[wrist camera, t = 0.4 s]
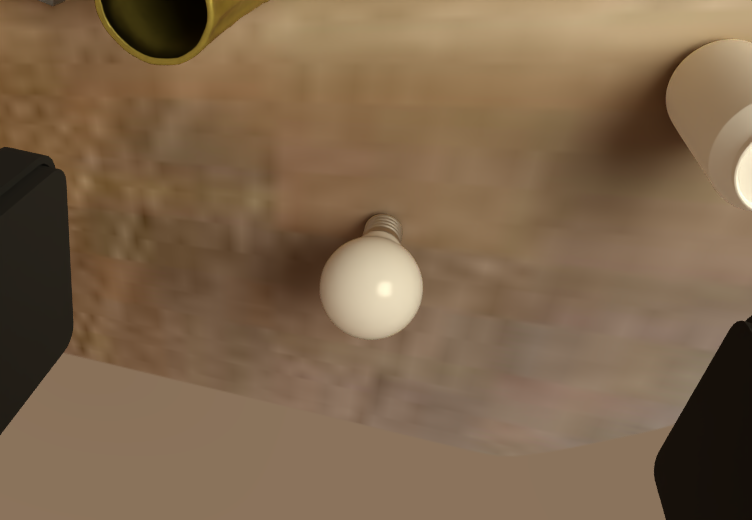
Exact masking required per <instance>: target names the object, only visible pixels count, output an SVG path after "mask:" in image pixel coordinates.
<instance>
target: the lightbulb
mask: <svg viewBox="0 0 752 520" xmlns="http://www.w3.org/2000/svg"><path fill="white" fill-rule="evenodd" d="M402 233H403V230H402V226H401V224H400V222H399V221H398V220H397V219H396V218H395V217H393V216H391V215H388V214H377V215H374V216H372V217H371V218H370V219H369V220H368V221H367V222H366V224H365V227H364V232H363V235H362V237H359V238H356V239H353V240H350V241H348V242H346V243H345V244H343V245H342V246H340V247H339V248H338V249H337V250H335V251H334V252H333V254H332V255H331V256H330V257H329V259H328V260H327V262H326V264H325V266H324V268H323V270H322V273H321V278H320V285H319V291H320V299H321V303H322V306H323V308H324V311H325V313H326V314H327V316H328V318H329V319H330V320H331V321H332V323H333V324H334V325H335V326H336V327H337V328H339V329H340V330H341V331H343V332H344V333H346V334H348V335H350V336H352V337H355V338H359V339H364V340H378V339H384V338H387V337H390V336H392V335H394V334H396V333H398V332H400V331H401V330H402V329H404V328H405V327H406V326H407V325H408V324H409V323H410V322H411V321H412V320H413V318H414V317H415V315H416V313H417V311H418V309H419V307H420V304H421V301H422V296H423V280H422V275H421V272H420V269H419V267H418V265H417V263H416V261H415V259H414V258H413V257H412V255H411V254H410V253H409V252H408V251H407V250H406V249H405V248H404V247H402V246H401V239H402Z"/></svg>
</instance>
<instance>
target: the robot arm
mask: <svg viewBox="0 0 752 520" xmlns="http://www.w3.org/2000/svg"><path fill="white" fill-rule="evenodd" d="M72 331H73V307H72V287H71V267H70V246H69V226H68V206H67V186H66V177H65V174H64V172H63V171H62V170H60V169H55V165H54V163H53V161H52V159H51V158H50V157H49V156H45V155H41V154H36V153H32V152H27V151H23V150H18V149H14V148H8V147H3V148H1V149H0V435H1V433H2V432H3V431H4V429H5V428H6V427H7V425H8V424H9V423H10V422H11V420H12V419H13V417H14V416H15V415H16V414H17V412H18V411H19V410H20V408H21V407H22V406H23V405H24V403H25V402H26V401H27V399H28V398H29V397H30V395H31V394H32V393H33V391H34V390H35V389H36V388H37V386H38V385H39V384H40V382H41V381H42V380H43V378H44V377H45V376H46V374H47V373H48V372H49V371H50V369H51V368H52V367H53V365H54V364H55V363H56V361H57V360H58V359H59V357H60V356H61V355H62V354H63V352H64V351H65V349H66V348H67V346H68V344H69V342H70V339H71V336H72ZM654 477H655V482H656V486H657V489H658V493H659V496H660V500H661V504H662V507H663V511H664V514H665V518H666V520H752V316H751V317H749V318H748V319H747V320H746V321H738V322H736V323H735V324H733V326H732V327H731V328H730V330H729V332H728V333H727V335H726V337H725V338H724V340H723V342H722V344H721V345H720V347H719V349H718V351H717V352H716V354H715V356H714V357H713V359H712V361H711V363H710V364H709V366H708V368H707V370H706V371H705V373H704V375H703V376H702V378H701V380H700V382H699V383H698V385H697V387H696V389H695V390H694V392H693V394H692V395H691V397H690V399H689V401H688V402H687V404H686V406H685V408H684V409H683V411H682V413H681V414H680V416H679V418H678V420H677V421H676V423H675V425H674V427H673V428H672V430H671V432H670V433H669V435H668V437H667V439H666V440H665V442H664V444H663V446H662V447H661V449H660V451H659V453H658V455H657V457H656V461H655V466H654Z"/></svg>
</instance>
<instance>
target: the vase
mask: <svg viewBox="0 0 752 520" xmlns="http://www.w3.org/2000/svg"><path fill="white" fill-rule="evenodd" d="M94 1H95V7H96V10H97V14H98V16H99V18H100V20H101V22H102V24H103V26H104V28H105V29H106V31H107V32H108V33H109V34H110V36H111V37H112V38H113V39H114V40H115V41H116V42H117V43H118V44H119V45H120V46H121V47H122V48H123V49H124V50H125V51H127V52H128V53H129V54H131V55H133V56H134V57H136V58H138V59H140V60H142V61H144V62H147V63H150V64H154V65H176V64H181V63H184V62H186V61H188V60H190V59H192V58H193V57H195V56H196V55H197V54H199V53H200V52H201V51H202V50H203V49H204V48H205V47H206V46H207V45H208V44H209V43H211V42H212V41H213V40H214V39H215V38H216V37H218V36H219V35H220V34H221V33H222V32H224V31H225V30H226V29H227V28H229V27H230V26H232V25H233V24H234V23H235V22H236V21H238V20H239V19H240V18H241V17H243V16H244V15H246V14H248V13H249V12H251V11H252V10H254V9H255V8H257V7H258V6H260V5H261V4H262V3H265V2H268V1H269V0H94Z"/></svg>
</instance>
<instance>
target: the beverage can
mask: <svg viewBox="0 0 752 520" xmlns="http://www.w3.org/2000/svg"><path fill="white" fill-rule="evenodd" d="M666 107H667V112H668V115H669V117H670V119H671V121H672V123H673V125H674V126H675V128H676V130H677V131H678V133H679V134H680V136H681V138H682V139H683V141H684V142H685V144H686V145H687V147H688V149H689V150H690V152H691V153H692V155H693V156H694V158H695V159H696V161H697V163H698V164H699V166H700V167H701V169H702V170H703V172H704V173H705V175H706V176H707V178H708V180H709V181H710V183H711V184H712V186H713V187H714V189H715V190H716V192H717V193H718V194H719V195H720V196H721V197H722V198H723V199H724V200H725V201H727V202H728V203H730V204H731V205H733V206H735V207H737V208H740V209H743V210H747V211H752V43H751V42H748V41H745V40H739V39H724V40H719V41H715V42H711V43H709V44H706V45H704V46H702V47H700V48H698V49H697V50H695V51H694V52H692V53H691V54H690V55H688V56H687V57H686V58H685V59H684V60H683V61H682V62H681V63H680V64H679V66H678V67H677V68H676V70H675V71H674V73H673V75H672V76H671V78H670V81H669V83H668V87H667V91H666Z"/></svg>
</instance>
